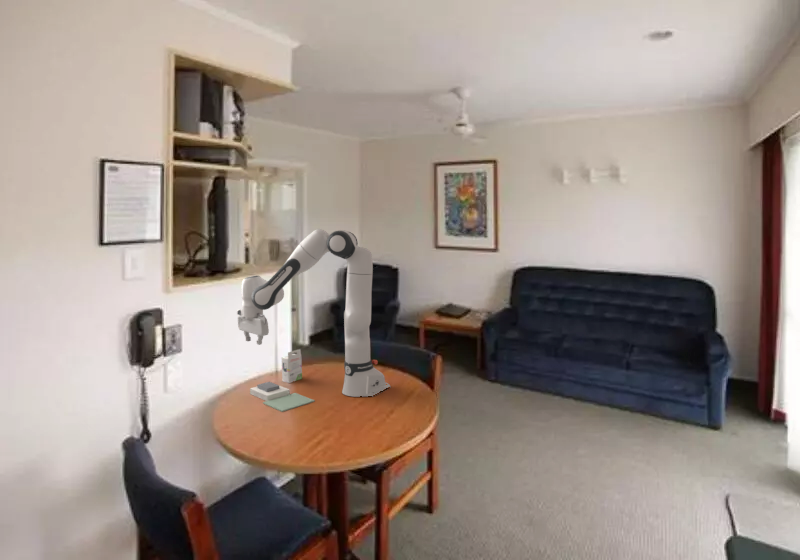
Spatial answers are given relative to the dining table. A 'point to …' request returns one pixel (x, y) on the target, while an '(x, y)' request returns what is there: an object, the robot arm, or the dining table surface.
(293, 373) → the ink box
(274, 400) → the mat
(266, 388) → the slate coaster
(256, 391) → the stand
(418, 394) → the dining table surface
